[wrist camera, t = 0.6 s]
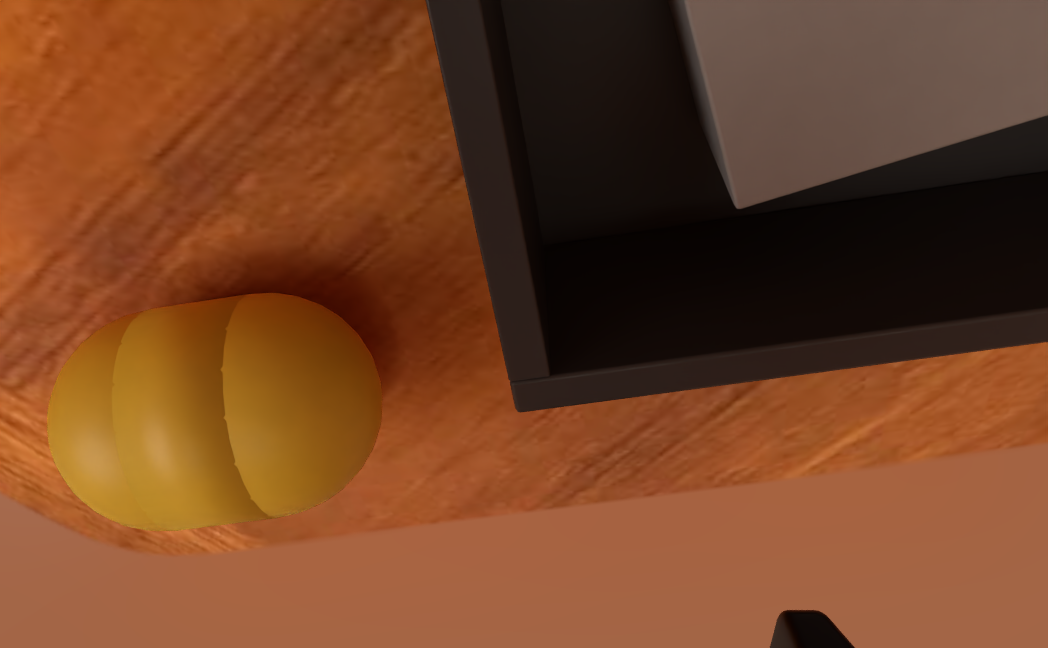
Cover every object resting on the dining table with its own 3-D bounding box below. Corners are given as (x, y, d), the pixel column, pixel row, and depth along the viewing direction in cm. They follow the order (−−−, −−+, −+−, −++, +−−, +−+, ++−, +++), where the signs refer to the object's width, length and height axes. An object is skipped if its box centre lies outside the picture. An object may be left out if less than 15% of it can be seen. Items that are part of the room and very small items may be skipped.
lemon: (364, 236, 22) (329, 369, 18) (413, 403, 25) (393, 552, 21) (61, 282, 23) (-42, 421, 19) (143, 440, 26) (70, 591, 22)
